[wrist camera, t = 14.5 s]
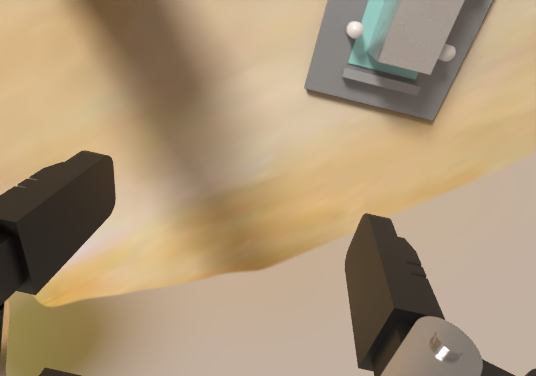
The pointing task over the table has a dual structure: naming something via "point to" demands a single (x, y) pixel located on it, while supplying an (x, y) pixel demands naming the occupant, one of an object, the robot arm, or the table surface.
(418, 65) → the block
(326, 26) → the docking tray
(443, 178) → the table surface
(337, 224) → the table surface
